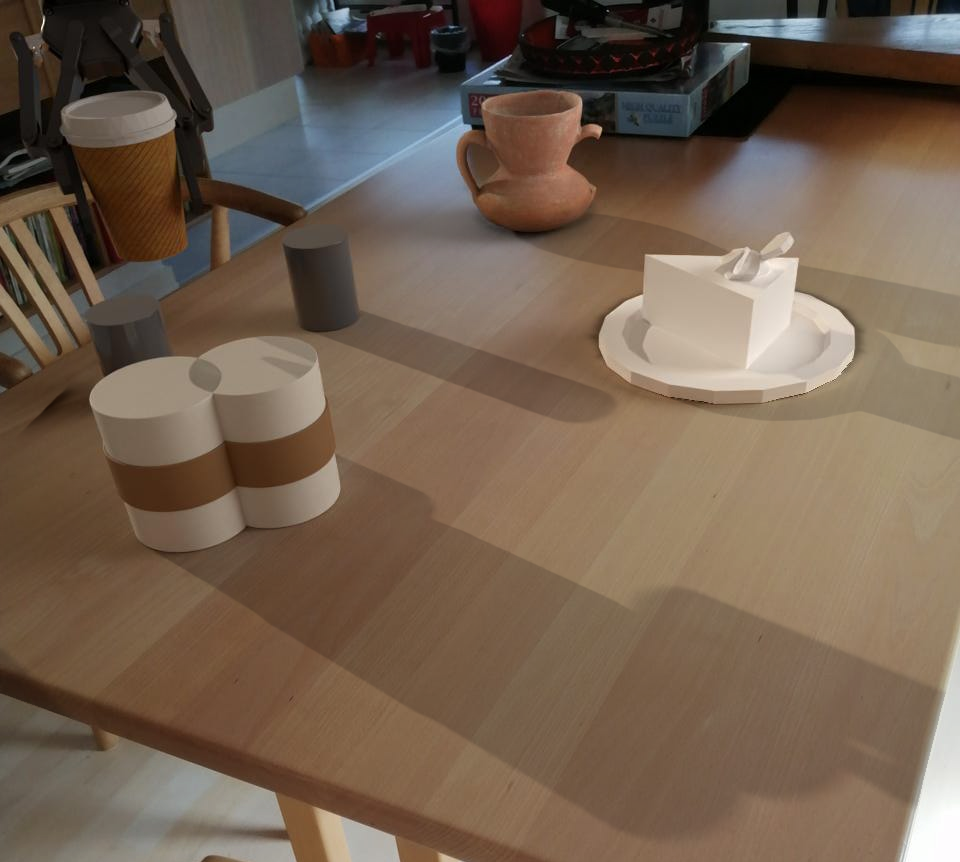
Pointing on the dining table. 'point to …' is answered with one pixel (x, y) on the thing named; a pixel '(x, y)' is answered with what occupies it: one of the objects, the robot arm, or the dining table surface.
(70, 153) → the robot arm
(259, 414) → the white banded double cylinder
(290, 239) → the grey tumblers
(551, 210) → the ceramic jug
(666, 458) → the dining table surface
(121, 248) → the disposable coffee cup
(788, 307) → the white wedge on plate
